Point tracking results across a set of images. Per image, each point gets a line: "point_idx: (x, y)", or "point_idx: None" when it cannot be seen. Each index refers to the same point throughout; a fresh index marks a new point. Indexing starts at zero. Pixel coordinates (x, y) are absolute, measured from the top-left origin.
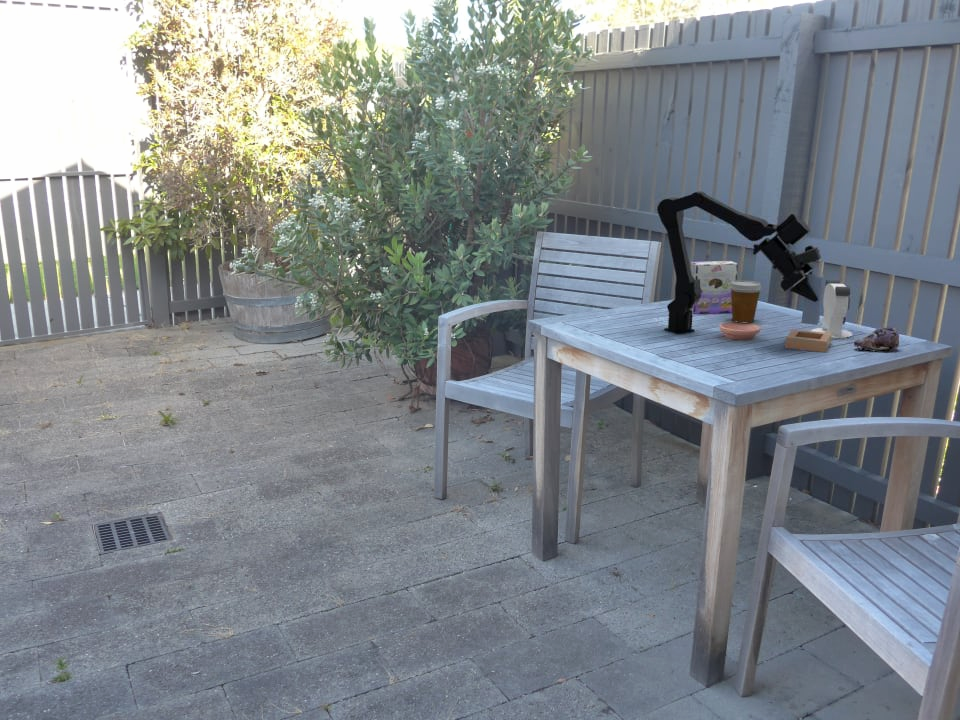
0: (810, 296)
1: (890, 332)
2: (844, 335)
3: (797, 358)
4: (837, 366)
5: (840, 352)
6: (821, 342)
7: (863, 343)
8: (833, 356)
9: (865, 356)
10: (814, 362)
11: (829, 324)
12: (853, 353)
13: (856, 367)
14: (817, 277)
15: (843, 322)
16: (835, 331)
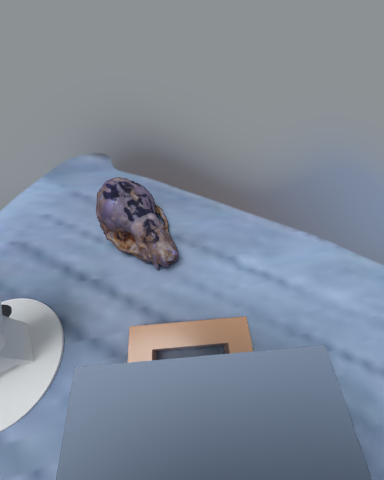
0: None
1: (139, 186)
2: (31, 315)
3: (353, 378)
4: (340, 272)
5: (215, 290)
6: (248, 332)
7: (173, 244)
8: (263, 297)
9: (217, 240)
10: (352, 324)
11: (12, 360)
12: (206, 264)
13: (315, 240)
14: (353, 439)
15: (9, 313)
16: (25, 340)
